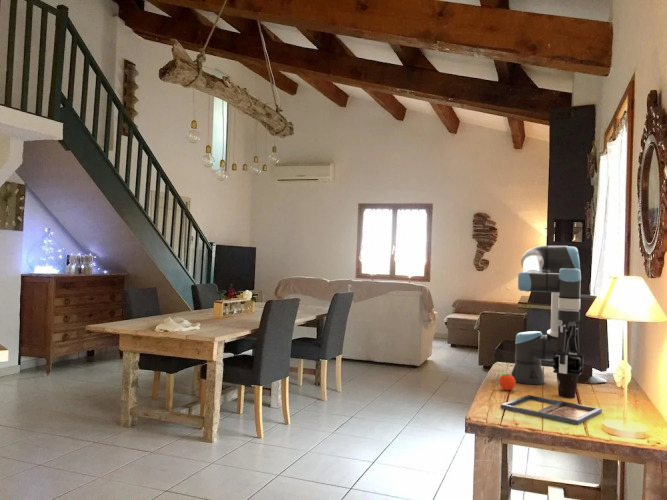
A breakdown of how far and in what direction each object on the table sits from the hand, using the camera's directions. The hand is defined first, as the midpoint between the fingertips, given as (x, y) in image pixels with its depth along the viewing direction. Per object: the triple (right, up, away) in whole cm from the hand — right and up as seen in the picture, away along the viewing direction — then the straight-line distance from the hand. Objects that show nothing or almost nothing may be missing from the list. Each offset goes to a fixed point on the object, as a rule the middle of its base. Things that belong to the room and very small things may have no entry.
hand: (567, 371), depth 209 cm
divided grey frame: (-5, -15, +4) cm, 17 cm away
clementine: (-11, -16, +38) cm, 43 cm away
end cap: (0, -1, 0) cm, 1 cm away
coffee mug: (+11, -17, +28) cm, 34 cm away
